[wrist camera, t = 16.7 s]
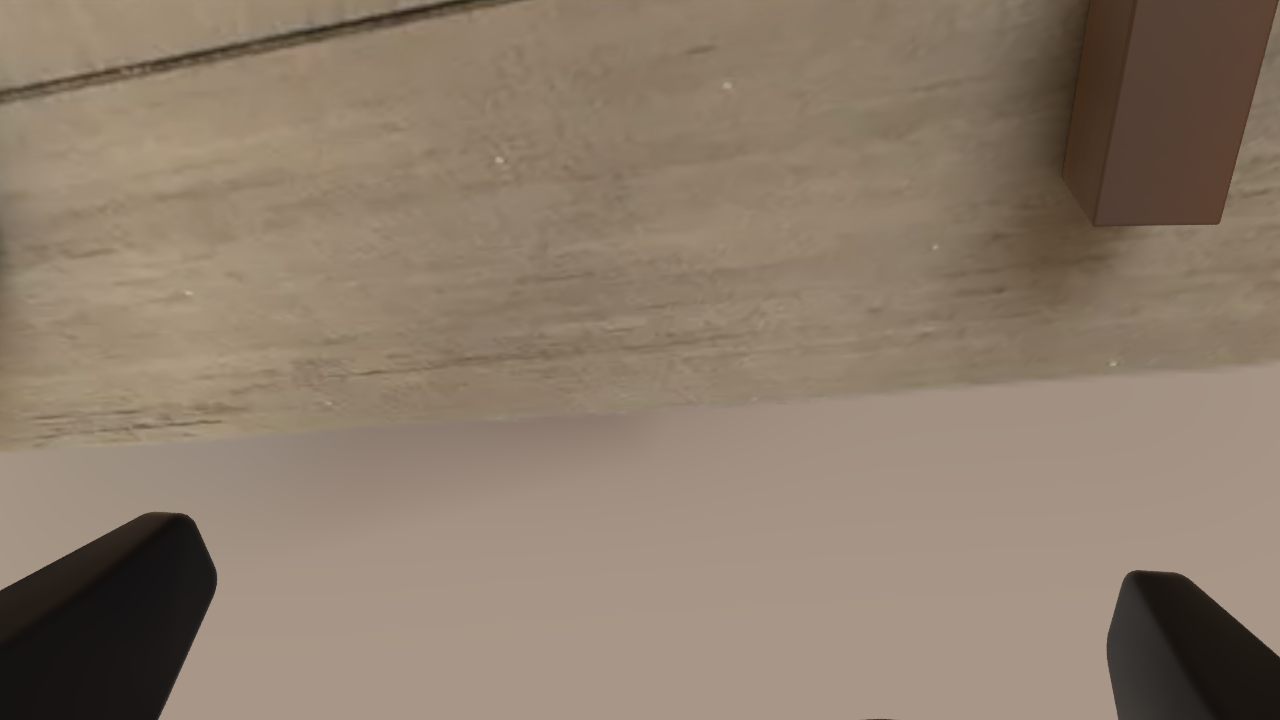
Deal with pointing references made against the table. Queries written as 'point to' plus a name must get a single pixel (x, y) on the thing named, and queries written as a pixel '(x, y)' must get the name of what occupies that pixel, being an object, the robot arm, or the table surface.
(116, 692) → the robot arm
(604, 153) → the table surface
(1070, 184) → the tall brown square pillar
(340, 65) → the table surface
